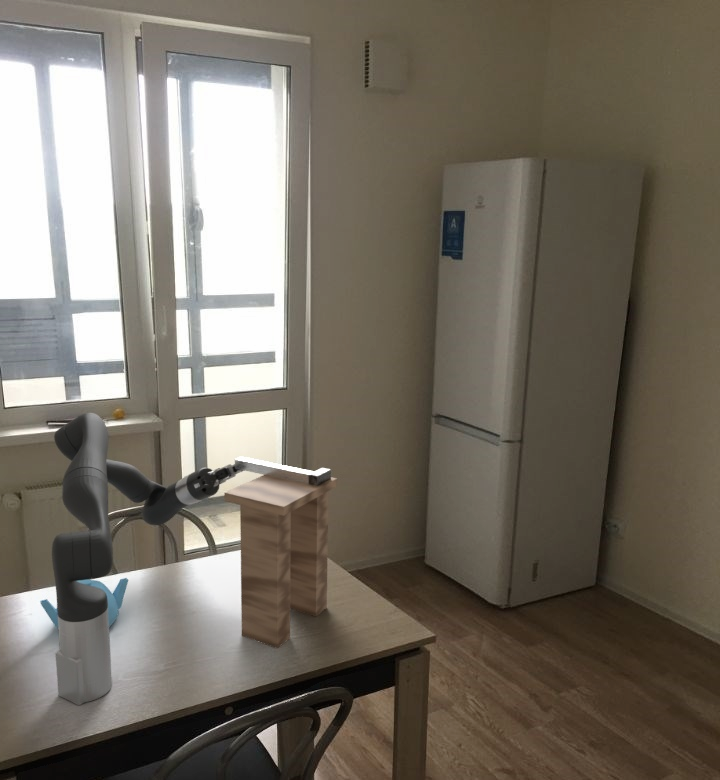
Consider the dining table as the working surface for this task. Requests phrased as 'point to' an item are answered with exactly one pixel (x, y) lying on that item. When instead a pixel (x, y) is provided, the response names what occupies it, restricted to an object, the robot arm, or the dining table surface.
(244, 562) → the shelf
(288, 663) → the dining table surface
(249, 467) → the crook tool
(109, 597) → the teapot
